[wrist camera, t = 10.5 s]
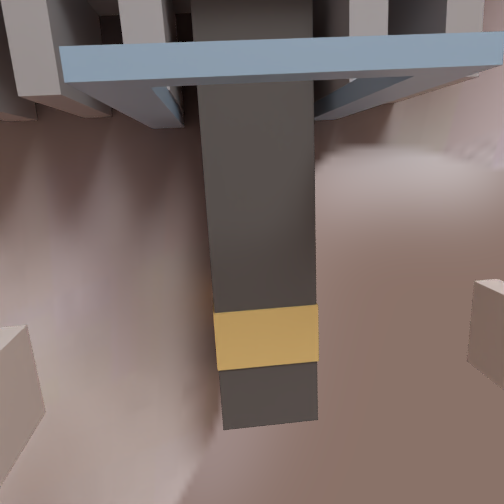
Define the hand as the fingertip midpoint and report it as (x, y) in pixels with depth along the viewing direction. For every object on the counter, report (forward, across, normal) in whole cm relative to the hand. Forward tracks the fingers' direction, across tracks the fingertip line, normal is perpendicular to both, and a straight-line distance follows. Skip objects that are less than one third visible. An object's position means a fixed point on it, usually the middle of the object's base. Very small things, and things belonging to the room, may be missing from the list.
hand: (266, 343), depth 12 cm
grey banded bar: (+8, +1, +2) cm, 9 cm away
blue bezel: (+8, +1, +7) cm, 11 cm away
